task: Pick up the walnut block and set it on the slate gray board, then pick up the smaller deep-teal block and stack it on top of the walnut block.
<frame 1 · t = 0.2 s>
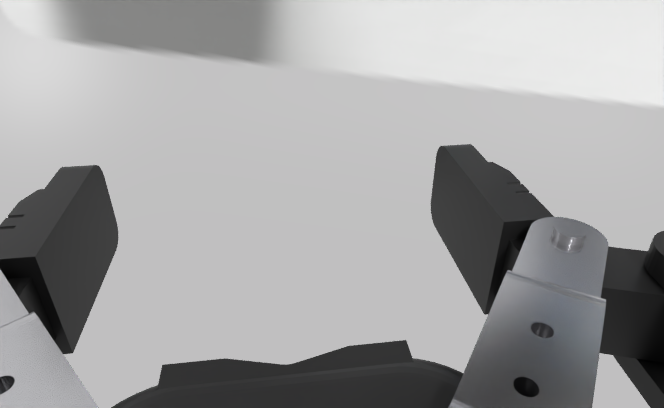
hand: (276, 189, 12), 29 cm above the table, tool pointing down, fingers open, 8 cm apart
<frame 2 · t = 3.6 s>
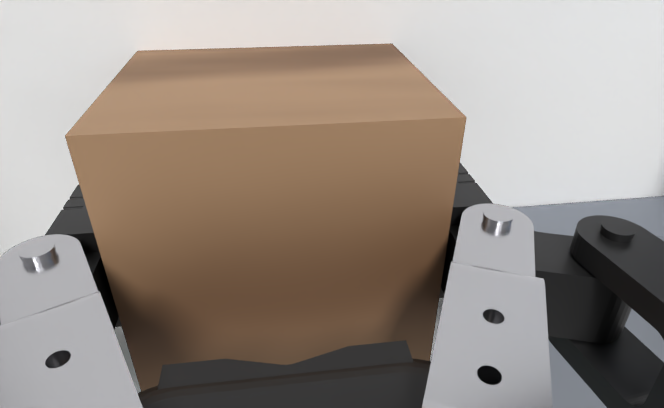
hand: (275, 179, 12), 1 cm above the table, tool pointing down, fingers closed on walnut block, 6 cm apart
walnut block: (275, 161, 13), on the table, touching gripper
slate gray board: (638, 364, 20), on the table
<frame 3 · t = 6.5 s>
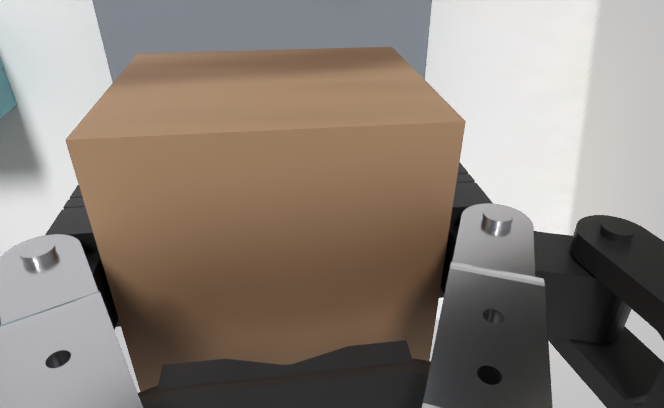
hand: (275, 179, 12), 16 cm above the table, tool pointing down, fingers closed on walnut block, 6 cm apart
walnut block: (275, 163, 13), point 15 cm above the table, touching gripper
slate gray board: (271, 31, 26), on the table
when the fingers open (4 cm above the table, at t = 9.3 s): walnut block drops 1 cm, resting on slate gray board.
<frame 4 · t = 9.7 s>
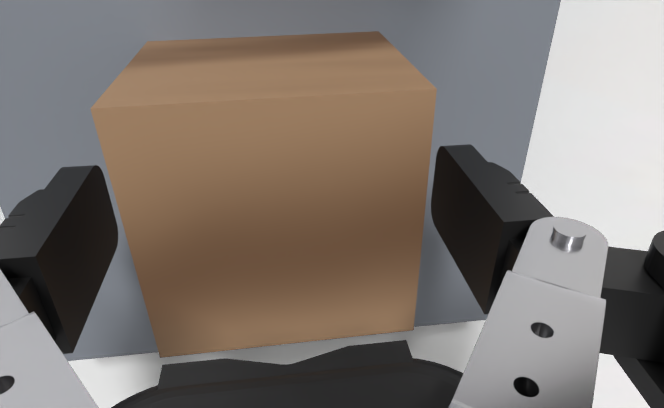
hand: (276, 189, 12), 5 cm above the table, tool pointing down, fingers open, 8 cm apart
walnut block: (274, 142, 14), point 2 cm above the table, touching slate gray board
slate gray board: (271, 118, 16), on the table
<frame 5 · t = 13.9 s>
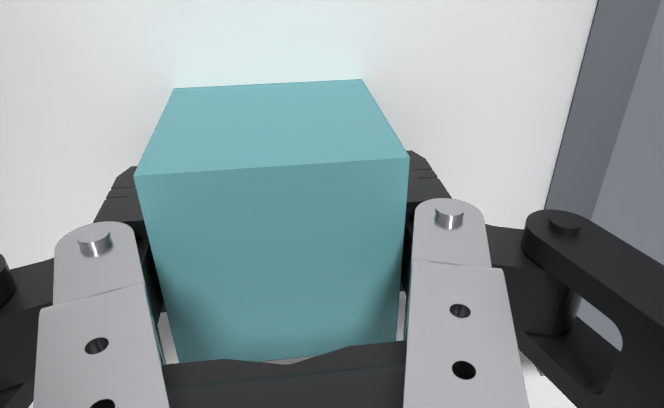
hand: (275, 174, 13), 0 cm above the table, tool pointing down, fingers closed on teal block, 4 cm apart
teal block: (276, 167, 13), on the table, touching gripper
when the fingers open (9 cm above the table, at t = 19.9 s): teal block drops 1 cm, resting on walnut block.
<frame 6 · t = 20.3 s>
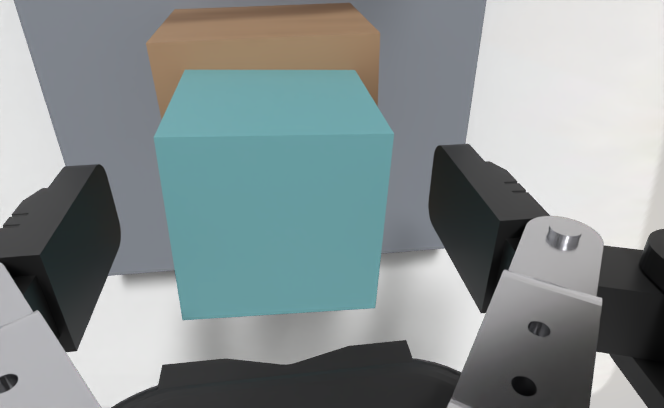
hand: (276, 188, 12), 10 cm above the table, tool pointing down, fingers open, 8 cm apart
walnut block: (270, 90, 18), point 2 cm above the table, touching slate gray board, teal block
teal block: (273, 147, 14), point 7 cm above the table, touching walnut block
slate gray board: (268, 76, 20), on the table
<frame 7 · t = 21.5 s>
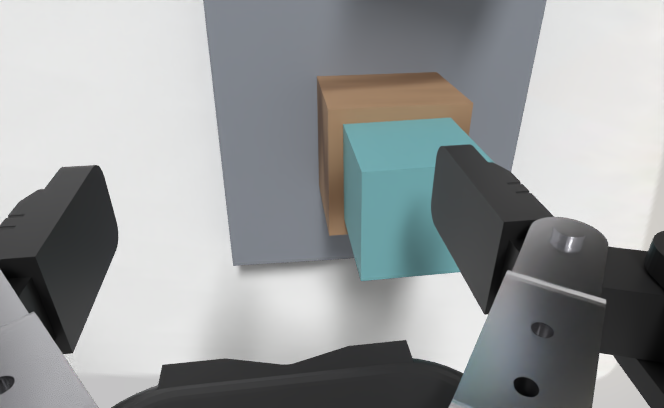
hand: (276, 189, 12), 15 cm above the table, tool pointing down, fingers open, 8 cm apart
walnut block: (375, 131, 26), point 2 cm above the table, touching slate gray board, teal block
teal block: (395, 170, 21), point 7 cm above the table, touching walnut block
slate gray board: (367, 119, 27), on the table
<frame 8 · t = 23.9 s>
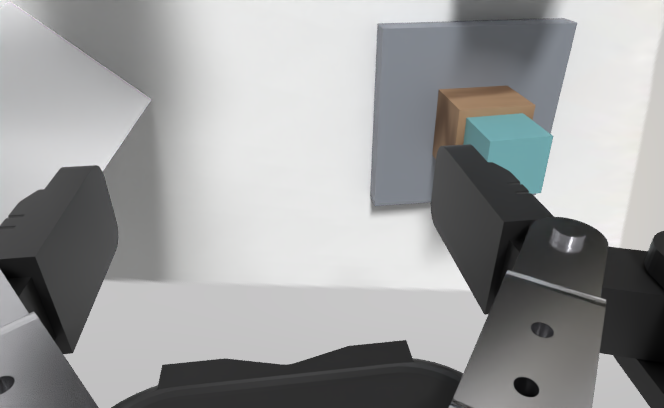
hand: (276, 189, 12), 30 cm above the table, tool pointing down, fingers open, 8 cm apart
walnut block: (468, 121, 43), point 2 cm above the table, touching slate gray board, teal block
teal block: (490, 142, 39), point 7 cm above the table, touching walnut block
milk: (48, 109, 40), on the table
slate gray board: (460, 113, 45), on the table
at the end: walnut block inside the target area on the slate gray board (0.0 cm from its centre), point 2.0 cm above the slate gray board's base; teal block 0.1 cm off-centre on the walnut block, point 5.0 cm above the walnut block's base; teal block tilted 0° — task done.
